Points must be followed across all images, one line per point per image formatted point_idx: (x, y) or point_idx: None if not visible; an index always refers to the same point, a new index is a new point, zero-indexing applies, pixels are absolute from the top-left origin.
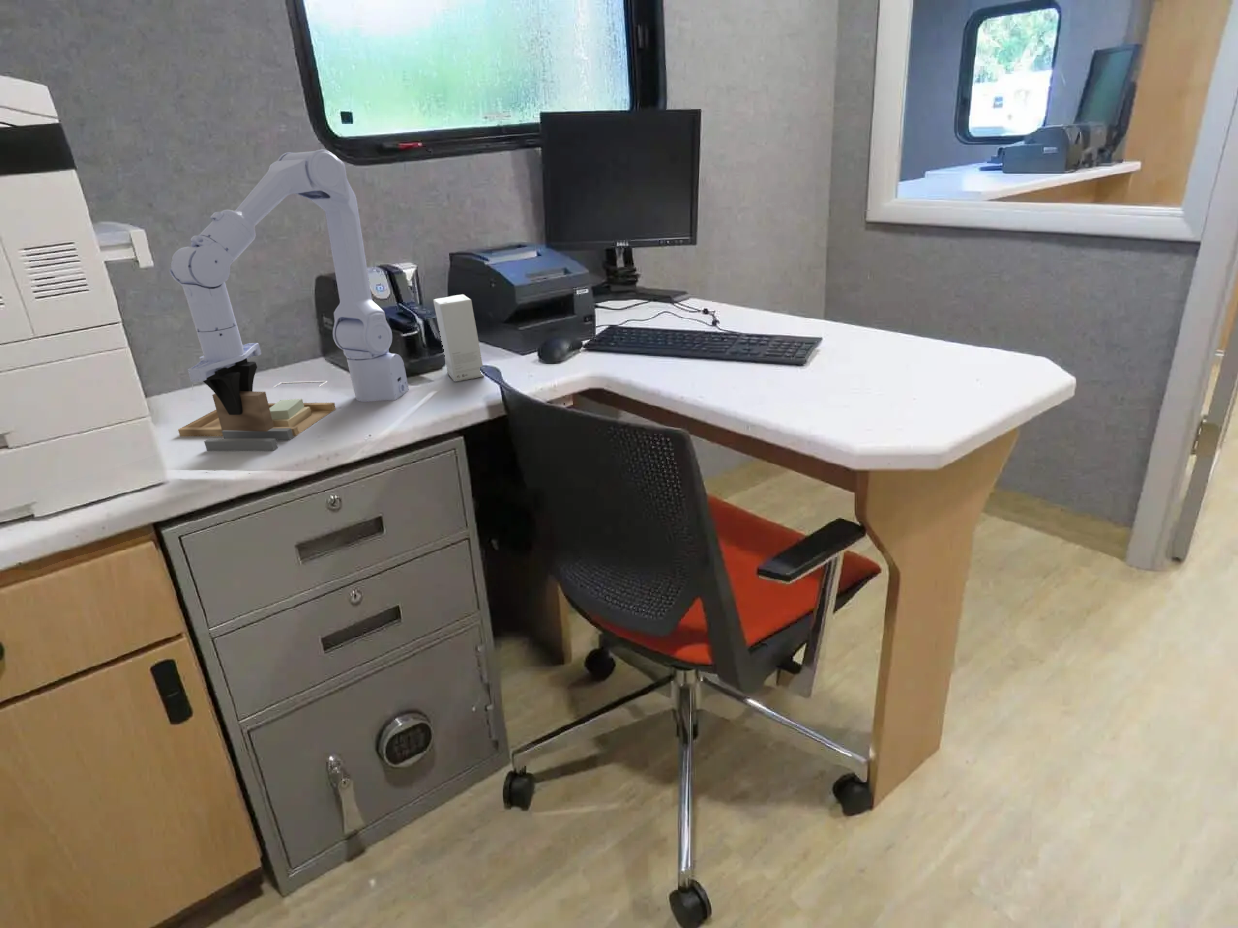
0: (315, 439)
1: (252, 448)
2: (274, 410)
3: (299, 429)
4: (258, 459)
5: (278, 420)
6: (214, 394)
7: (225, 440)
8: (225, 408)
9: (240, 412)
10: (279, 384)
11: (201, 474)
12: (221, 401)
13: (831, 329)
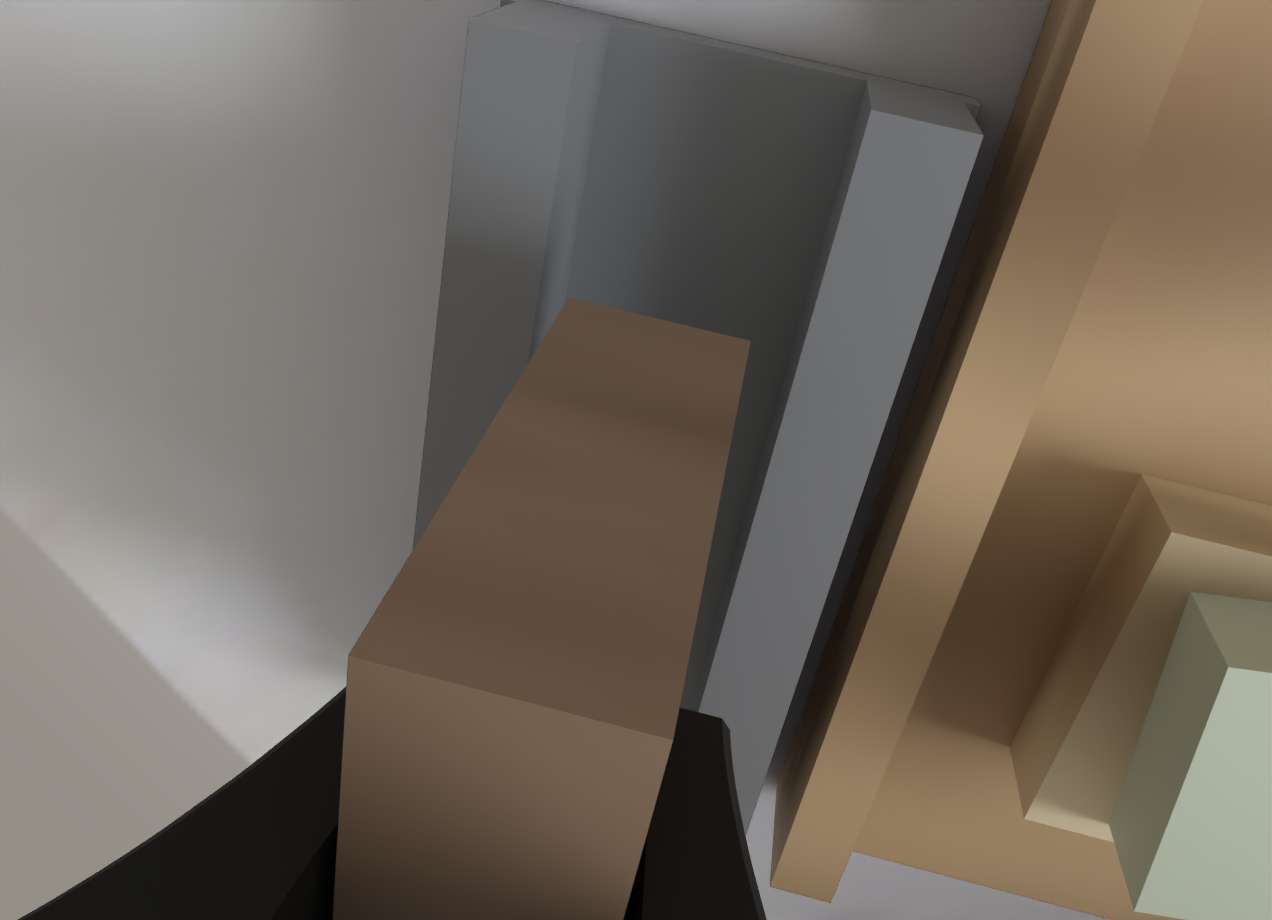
0: (788, 902)
1: None
2: (1215, 777)
3: (958, 830)
4: (391, 583)
5: (1092, 727)
6: (392, 689)
7: (464, 335)
8: (344, 690)
9: None
10: None
11: (54, 171)
12: (249, 776)
13: None
